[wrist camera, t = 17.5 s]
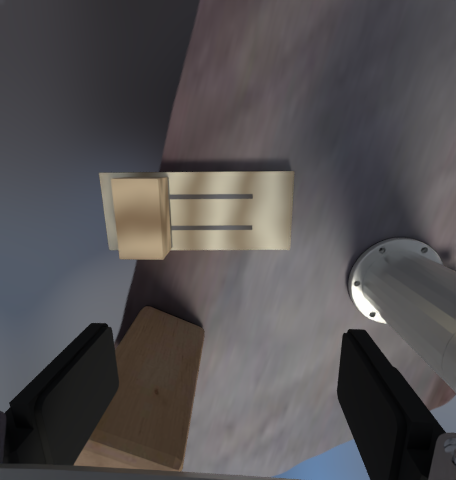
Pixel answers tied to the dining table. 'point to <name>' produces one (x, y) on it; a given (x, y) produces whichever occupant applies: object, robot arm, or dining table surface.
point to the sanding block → (142, 217)
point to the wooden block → (149, 396)
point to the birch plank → (219, 209)
